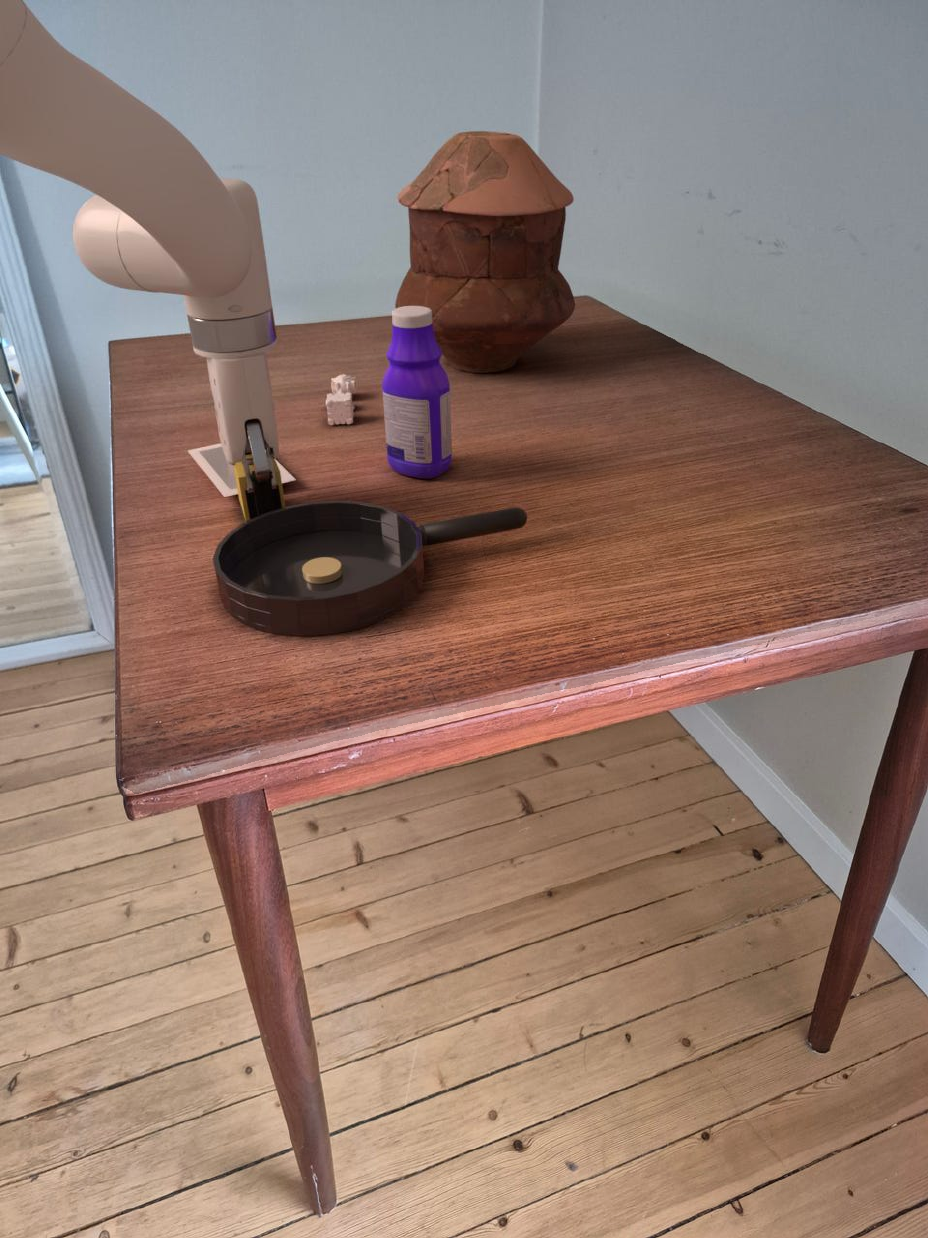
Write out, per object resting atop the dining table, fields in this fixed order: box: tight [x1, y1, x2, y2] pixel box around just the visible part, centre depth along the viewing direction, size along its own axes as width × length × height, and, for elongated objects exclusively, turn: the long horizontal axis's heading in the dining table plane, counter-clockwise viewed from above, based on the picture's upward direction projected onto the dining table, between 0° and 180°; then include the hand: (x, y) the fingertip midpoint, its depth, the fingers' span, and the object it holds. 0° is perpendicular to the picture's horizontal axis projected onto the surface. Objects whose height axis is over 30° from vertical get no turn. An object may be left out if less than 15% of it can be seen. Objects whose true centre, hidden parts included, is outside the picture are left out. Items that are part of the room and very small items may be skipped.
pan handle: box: [416, 506, 528, 547], centre depth 82 cm, size 11×2×2 cm, turn 109°
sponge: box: [233, 454, 286, 522], centre depth 90 cm, size 4×6×6 cm
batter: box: [302, 557, 342, 584], centre depth 80 cm, size 4×4×1 cm
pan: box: [212, 500, 425, 637], centre depth 79 cm, size 18×18×4 cm
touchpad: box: [186, 442, 297, 498], centre depth 100 cm, size 8×15×2 cm, turn 29°
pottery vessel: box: [394, 130, 576, 374], centre depth 124 cm, size 26×26×30 cm
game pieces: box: [325, 373, 357, 426], centre depth 116 cm, size 12×3×3 cm, turn 3°
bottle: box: [381, 306, 453, 480], centre depth 95 cm, size 7×6×17 cm
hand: (263, 510), depth 91 cm, fingers closed on sponge, 5 cm apart
